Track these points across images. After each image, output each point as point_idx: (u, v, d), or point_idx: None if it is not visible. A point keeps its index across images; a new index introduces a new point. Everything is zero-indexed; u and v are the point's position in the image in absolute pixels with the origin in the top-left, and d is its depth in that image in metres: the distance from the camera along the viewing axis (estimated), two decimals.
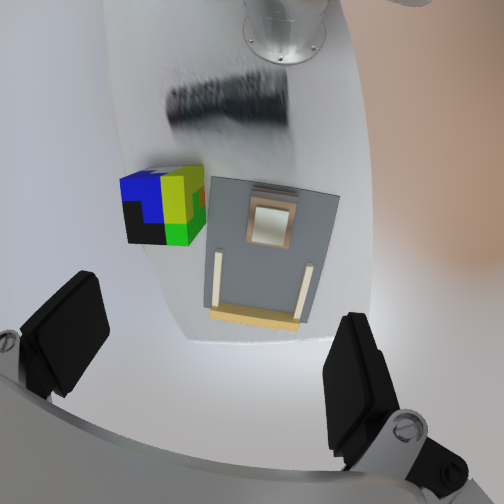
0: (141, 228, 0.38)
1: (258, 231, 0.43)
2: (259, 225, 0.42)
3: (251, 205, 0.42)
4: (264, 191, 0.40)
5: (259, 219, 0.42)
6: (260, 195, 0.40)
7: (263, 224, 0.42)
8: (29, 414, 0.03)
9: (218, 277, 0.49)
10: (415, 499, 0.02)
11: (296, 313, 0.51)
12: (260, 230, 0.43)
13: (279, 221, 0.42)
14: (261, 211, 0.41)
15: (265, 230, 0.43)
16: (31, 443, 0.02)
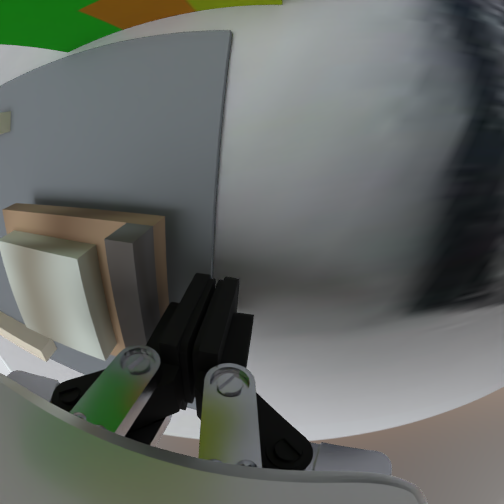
0: None
1: (19, 262, 0.08)
2: (33, 267, 0.08)
3: (88, 223, 0.09)
4: (145, 290, 0.08)
5: (47, 269, 0.08)
6: (123, 285, 0.08)
7: (40, 281, 0.09)
8: (29, 414, 0.03)
9: None
10: (415, 499, 0.02)
11: None
12: (23, 268, 0.09)
13: (68, 330, 0.10)
14: (70, 278, 0.08)
15: (31, 286, 0.09)
16: (31, 443, 0.02)
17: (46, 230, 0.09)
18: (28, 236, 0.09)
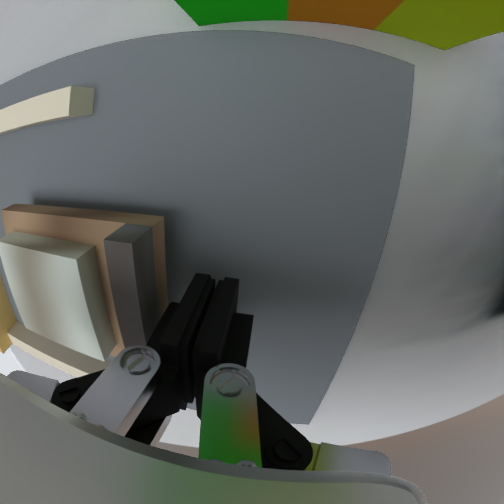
0: None
1: (19, 263, 0.08)
2: (32, 268, 0.08)
3: (87, 224, 0.09)
4: (144, 290, 0.08)
5: (46, 269, 0.08)
6: (122, 285, 0.08)
7: (40, 282, 0.09)
8: (29, 414, 0.03)
9: (5, 124, 0.08)
10: (415, 499, 0.02)
11: (16, 340, 0.14)
12: (23, 269, 0.08)
13: (68, 331, 0.10)
14: (69, 279, 0.08)
15: (30, 286, 0.09)
16: (31, 443, 0.02)
17: (45, 231, 0.09)
18: (27, 237, 0.09)
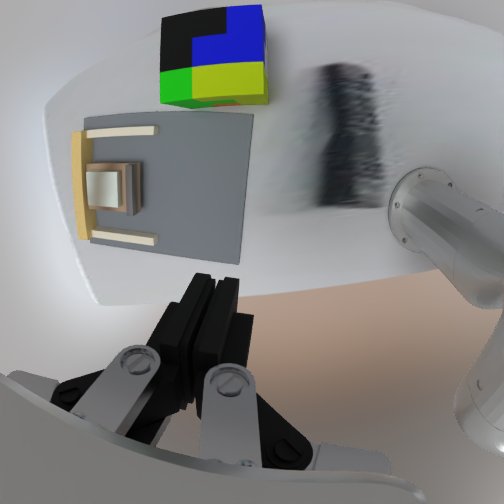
0: (183, 35, 0.20)
1: (95, 177, 0.33)
2: (100, 178, 0.33)
3: (120, 164, 0.33)
4: (133, 178, 0.33)
5: (106, 177, 0.33)
6: (128, 176, 0.32)
7: (102, 182, 0.33)
8: (29, 414, 0.03)
9: (122, 133, 0.32)
10: (415, 499, 0.02)
11: (97, 232, 0.39)
12: (96, 179, 0.33)
13: (108, 198, 0.34)
14: (113, 178, 0.33)
15: (97, 185, 0.33)
16: (31, 443, 0.02)
17: (105, 168, 0.33)
18: (98, 170, 0.33)
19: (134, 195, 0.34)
